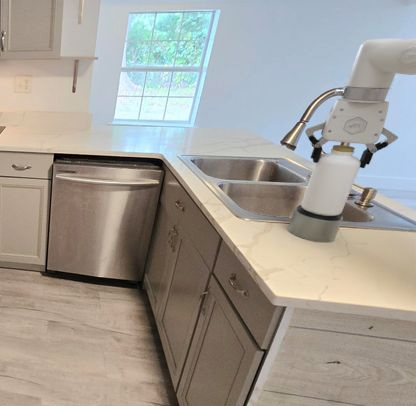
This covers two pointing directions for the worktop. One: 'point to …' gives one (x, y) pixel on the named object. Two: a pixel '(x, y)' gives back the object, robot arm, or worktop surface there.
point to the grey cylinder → (314, 225)
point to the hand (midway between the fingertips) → (337, 163)
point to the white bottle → (331, 181)
